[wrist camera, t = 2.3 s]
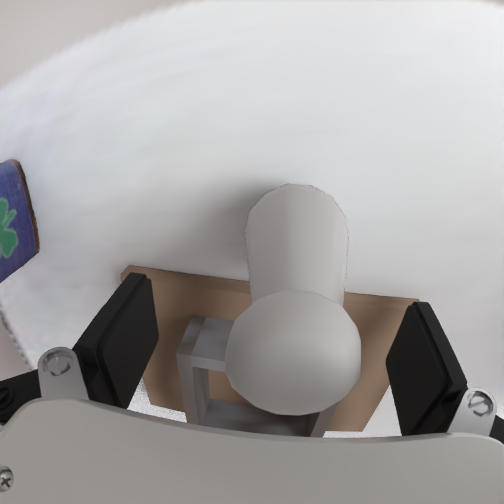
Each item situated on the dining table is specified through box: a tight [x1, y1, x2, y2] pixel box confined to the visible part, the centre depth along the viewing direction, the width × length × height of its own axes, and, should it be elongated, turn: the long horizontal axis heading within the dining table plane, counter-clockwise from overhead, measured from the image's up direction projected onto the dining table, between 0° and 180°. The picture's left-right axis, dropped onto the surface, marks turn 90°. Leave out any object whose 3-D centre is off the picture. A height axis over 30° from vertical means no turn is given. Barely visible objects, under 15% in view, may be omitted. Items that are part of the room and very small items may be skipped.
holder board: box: [121, 265, 420, 438], centre depth 24 cm, size 22×16×6 cm
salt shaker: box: [225, 184, 361, 415], centre depth 14 cm, size 6×6×13 cm
